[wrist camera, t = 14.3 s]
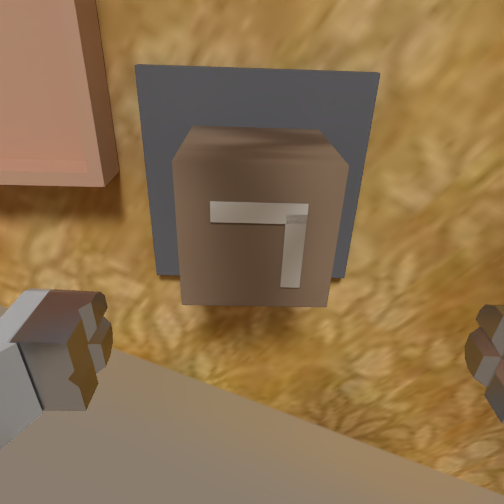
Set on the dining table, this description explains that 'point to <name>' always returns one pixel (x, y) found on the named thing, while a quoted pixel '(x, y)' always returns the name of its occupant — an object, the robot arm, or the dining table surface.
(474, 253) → the dining table surface
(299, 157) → the letter cube
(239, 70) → the charcoal mat
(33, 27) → the dish terracotta
